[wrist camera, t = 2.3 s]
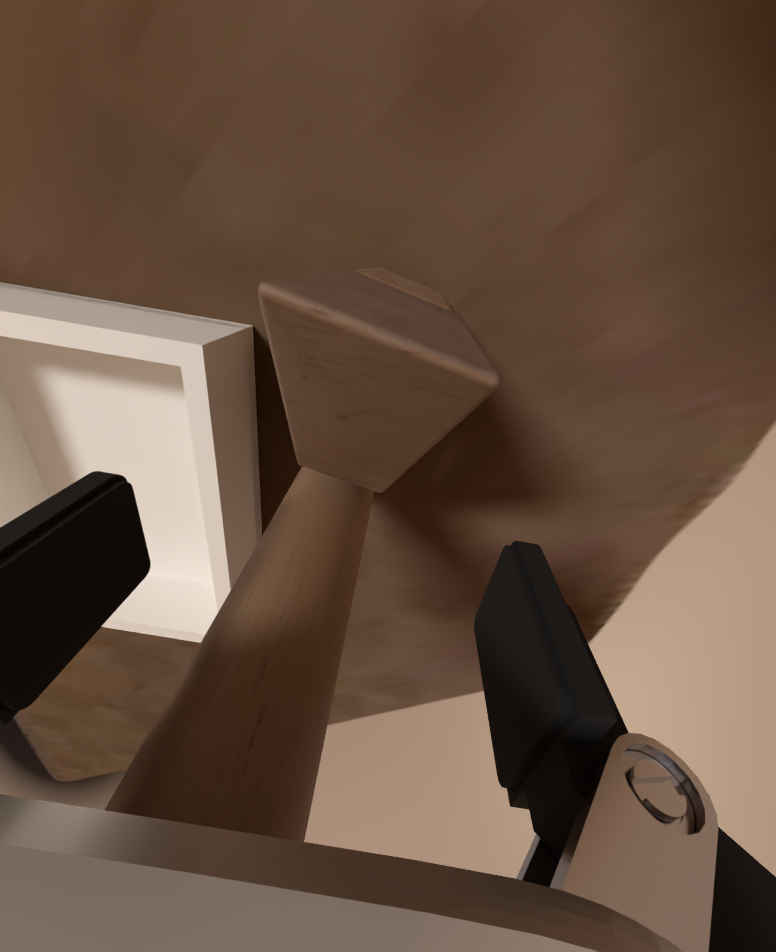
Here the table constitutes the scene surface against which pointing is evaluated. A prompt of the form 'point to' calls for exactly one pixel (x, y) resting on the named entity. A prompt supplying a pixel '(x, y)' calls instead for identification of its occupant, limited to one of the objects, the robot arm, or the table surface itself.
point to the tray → (138, 437)
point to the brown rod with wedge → (306, 548)
